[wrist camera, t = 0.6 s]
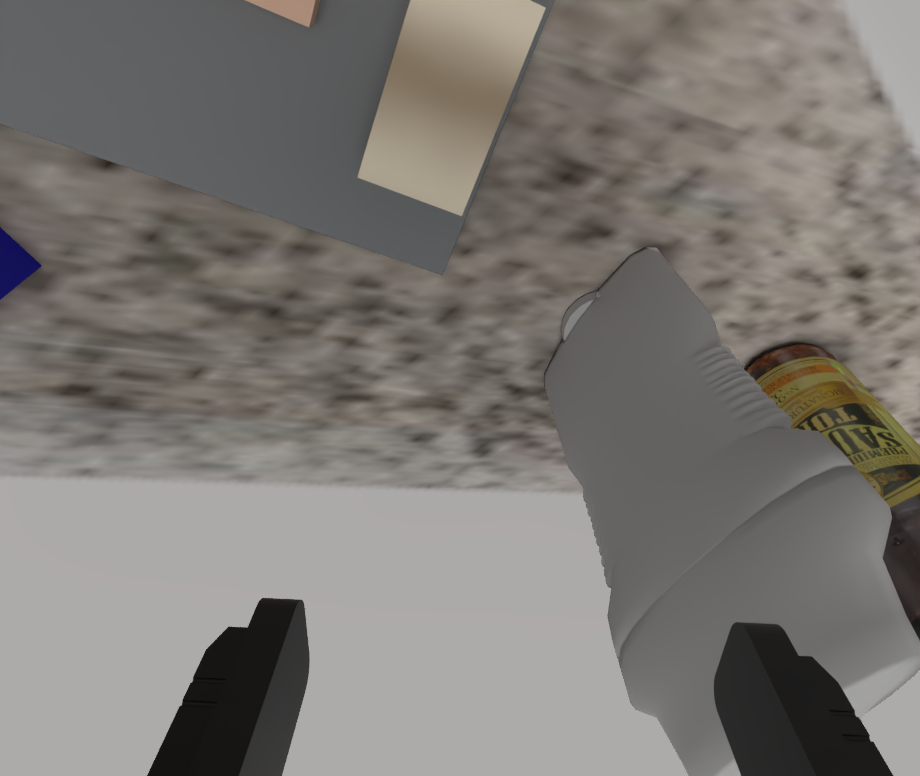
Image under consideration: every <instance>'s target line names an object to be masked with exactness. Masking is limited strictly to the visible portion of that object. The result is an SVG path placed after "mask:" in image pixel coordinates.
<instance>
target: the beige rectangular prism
mask: <svg viewBox="0 0 920 776" xmlns="http://www.w3.org/2000/svg"><path fill="white" fill-rule="evenodd" d="M545 9H546V8H545V7H543V6H541V5H539V4H537V3H535V2H533V1H531V0H410V1H409V5H408V8H407V11H406V15H405V18H404V21H403V25H402V28H401V31H400V35H399V38H398V42H397V45H396V48H395V52H394V55H393V58H392V62H391V65H390V68H389V72H388V75H387V78H386V82H385V85H384V88H383V92H382V95H381V98H380V102H379V105H378V108H377V112H376V115H375V119H374V122H373V125H372V129H371V132H370V135H369V139H368V142H367V145H366V149H365V152H364V155H363V159H362V162H361V166H360V170H359V173H358V177H357V178H360V179H363V180H365V181H368V182H371V183H373V184H376V185H379V186H382V187H384V188H387V189H390V190H392V191H395V192H398V193H400V194H403V195H406V196H409V197H411V198H414V199H417V200H419V201H422V202H425V203H427V204H430V205H433V206H435V207H438V208H441V209H444V210H446V211H449V212H452V213H454V214H457V215H460V216H462V214H463V212H464V209H465V207H466V205H467V202H468V200H469V197H470V195H471V192H472V190H473V187H474V185H475V182H476V180H477V177H478V175H479V172H480V170H481V167H482V165H483V162H484V160H485V157H486V155H487V152H488V150H489V147H490V145H491V143H492V140H493V138H494V135H495V133H496V130H497V128H498V125H499V123H500V120H501V118H502V115H503V113H504V110H505V108H506V105H507V103H508V100H509V98H510V95H511V93H512V90H513V88H514V86H515V83H516V81H517V78H518V76H519V73H520V71H521V68H522V66H523V63H524V61H525V58H526V56H527V53H528V51H529V48H530V46H531V43H532V41H533V38H534V36H535V33H536V31H537V28H538V26H539V24H540V21H541V19H542V16H543V14H544V11H545Z"/></svg>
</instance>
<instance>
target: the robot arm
mask: <svg viewBox="0 0 920 776" xmlns="http://www.w3.org/2000/svg"><path fill="white" fill-rule="evenodd" d="M308 673H309V647H308V637H307V628H306V618H305V608H304V603H303V601H302V600H293V599H273V598H262V599H261V600H260V601H259V603H258V605H257V607H256V609H255V612H254V614H253V616H252V619H251V621H250V624H249V626H248V628H243V627H228V628H227V629H226V630H225V631H224V632H223V633H222V634H221V635H220V636H219V637H218V638H217V639H216V640H215V641H214V642H213V643H212V644H211V645H210V646H209V647H208V649H206V651H205V653H204V656H203V658H202V660H201V662H200V664H199V666H198V668H197V670H196V673H195V675H194V677H193V682H192V683H190V685H189V688H188V690H187V692H186V694H185V696H184V698H183V703H182V706H180V707H179V709H178V711H177V713H176V716H175V718H174V720H173V722H172V724H171V726H170V728H169V730H168V732H167V734H166V737H165V739H164V741H163V743H162V745H161V747H160V749H159V752H158V754H157V756H156V758H155V760H154V762H153V764H152V767H151V769H150V771H149V773H148V775H147V776H282V773H283V769H284V766H285V762H286V758H287V755H288V752H289V748H290V744H291V740H292V737H293V733H294V730H295V726H296V722H297V719H298V716H299V712H300V708H301V705H302V701H303V697H304V694H305V690H306V685H307V680H308ZM714 699H715V705H716V709H717V712H718V715H719V718H720V720H721V723H722V726H723V728H724V731H725V734H726V736H727V739H728V742H729V745H730V747H731V750H732V753H733V755H734V758H735V761H736V763H737V766H738V769H739V771H740V774H741V776H893V775H892V773H891V771H890V769H889V768H888V766H887V765H886V763H885V761H884V759H883V758H882V756H881V754H880V752H879V751H878V749H877V747H876V746H875V744H874V742H871V741H870V739H869V734H868V732H867V730H866V729H865V727H864V725H863V724H862V722H861V720H860V719H859V717H856V715H855V710H854V708H853V707H852V705H851V703H850V702H849V700H848V698H847V696H846V695H845V693H844V691H843V690H842V688H841V686H840V685H839V683H838V682H837V681H836V680H835V679H834V678H833V677H832V676H831V675H830V674H829V673H828V672H827V671H826V670H825V669H824V668H823V667H822V666H821V665H820V664H819V663H818V662H817V661H816V660H815V659H814V658H813V657H812V656H799V655H798V654H797V652H796V650H795V648H794V646H793V644H792V643H791V641H790V639H789V637H788V635H787V634H786V632H785V630H784V629H783V628H782V627H781V626H780V625H778V624H766V623H745V622H736V623H734V624H733V625H732V626H731V629H730V632H729V635H728V638H727V641H726V644H725V647H724V650H723V653H722V656H721V659H720V662H719V665H718V668H717V671H716V674H715V677H714Z"/></svg>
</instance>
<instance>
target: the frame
mask: <svg viewBox="0 0 920 776" xmlns="http://www.w3.org/2000/svg"><path fill="white" fill-rule="evenodd" d="M245 1H248V2H250V3H252V4H255V5H257V6H260V7H262V8H264V9H267V10H269V11H271V12H274V13H276V14H278V15H281V16H283V17H285V18H288V19H290V20H292V21H295V22H297V23H299V24H302V25H304V26H307V27H311V26H312V25H314V24H315V21H316V16H317V12H318V8H319V3H320V0H245Z"/></svg>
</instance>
